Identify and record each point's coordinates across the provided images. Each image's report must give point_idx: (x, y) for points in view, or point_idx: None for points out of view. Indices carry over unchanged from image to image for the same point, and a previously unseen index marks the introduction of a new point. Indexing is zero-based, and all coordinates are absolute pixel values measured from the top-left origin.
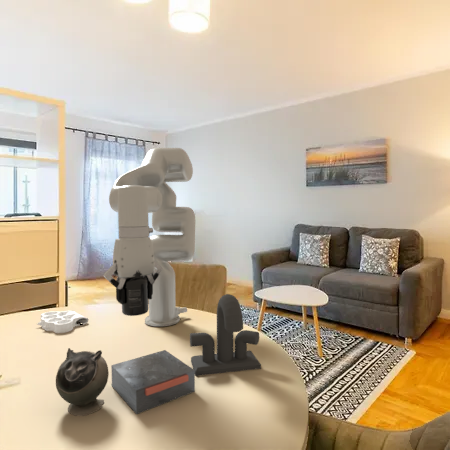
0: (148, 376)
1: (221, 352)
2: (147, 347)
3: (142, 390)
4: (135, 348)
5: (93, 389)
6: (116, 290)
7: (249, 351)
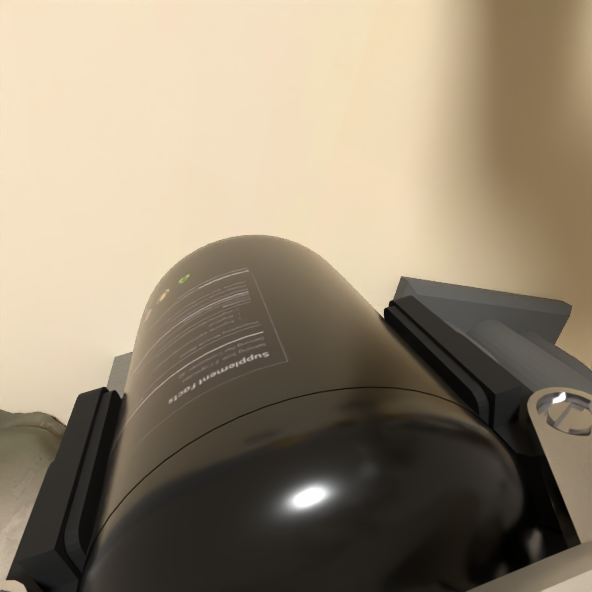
0: None
1: None
2: (299, 52)
3: None
4: (240, 31)
5: None
6: (19, 573)
7: (563, 322)
